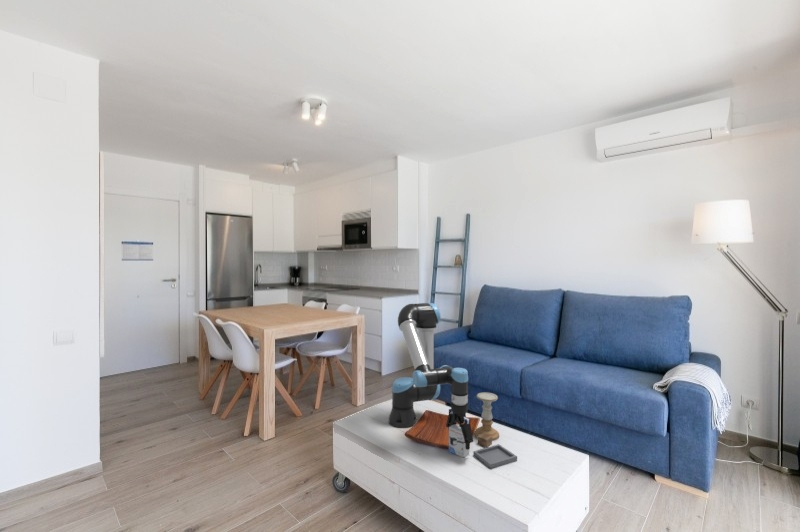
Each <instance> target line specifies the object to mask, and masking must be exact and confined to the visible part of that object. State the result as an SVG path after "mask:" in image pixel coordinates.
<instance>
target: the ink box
mask: <svg viewBox="0 0 800 532" xmlns="http://www.w3.org/2000/svg"><path fill="white" fill-rule="evenodd" d="M464 441H465V440H464V437H463V433H462V430H461V427H460V426H459V424H458V423H456V424H454V425H452V426H450V427H449V430H448V452H450V453H452V454H454V455H457V456H459V457H461V458H465V457H464V456H463V446H464ZM449 447H450V449H449Z"/></svg>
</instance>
